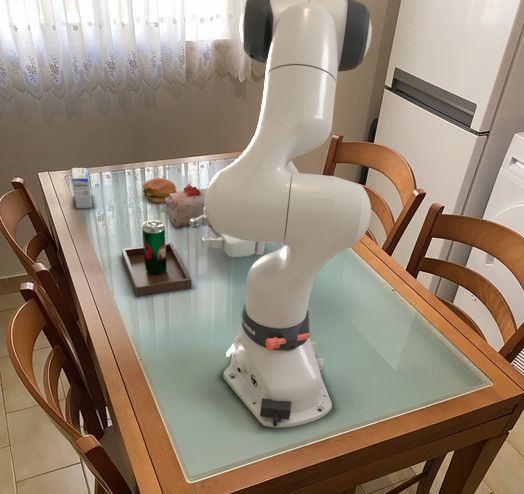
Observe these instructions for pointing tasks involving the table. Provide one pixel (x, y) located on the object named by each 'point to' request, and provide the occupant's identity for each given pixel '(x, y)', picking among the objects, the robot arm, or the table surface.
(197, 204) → the food item
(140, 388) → the table surface
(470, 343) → the table surface
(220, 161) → the table surface
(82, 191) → the medicine box
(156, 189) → the burger
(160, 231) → the soda can
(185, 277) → the tray
